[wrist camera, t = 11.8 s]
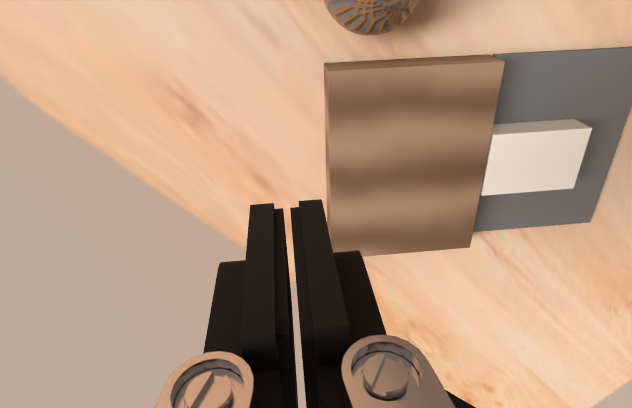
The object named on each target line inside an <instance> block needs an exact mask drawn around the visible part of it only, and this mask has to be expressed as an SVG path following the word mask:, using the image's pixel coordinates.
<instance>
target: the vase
mask: <svg viewBox="0 0 632 408" xmlns="http://www.w3.org/2000/svg"><path fill="white" fill-rule="evenodd" d="M324 2H325V5H326V7H327V9H328V11H329V12H330V14H331V15H332V17H333V18H334V19H335V20H336V21H337V22H338V23H339V24H340V25H341V26H343V27H344V28H346V29H347V30H349V31H351V32H354V33H357V34H361V35H378V34H383V33H386V32H388V31H390V30H392V29H394V28H396V27H397V26H399V25H400V24H401V23H403V22H404V21H405V20H406V19H407V18H408V17H409V16H410V14H411V13H412V12H413V10H414V9H415V7H416V5H417V4H418V2H419V0H324Z"/></svg>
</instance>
